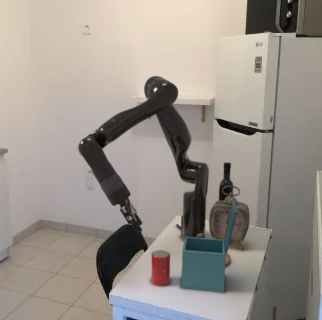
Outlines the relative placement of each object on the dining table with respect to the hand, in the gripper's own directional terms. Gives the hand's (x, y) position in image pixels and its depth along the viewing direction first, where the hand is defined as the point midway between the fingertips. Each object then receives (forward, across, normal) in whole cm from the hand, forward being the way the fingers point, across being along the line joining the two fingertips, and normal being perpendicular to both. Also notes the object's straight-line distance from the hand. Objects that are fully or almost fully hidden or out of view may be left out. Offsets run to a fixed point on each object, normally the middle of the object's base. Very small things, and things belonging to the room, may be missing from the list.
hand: (140, 228), depth 149 cm
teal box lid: (+13, -4, -26) cm, 29 cm away
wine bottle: (+30, +45, -24) cm, 59 cm away
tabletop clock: (+31, +29, -22) cm, 48 cm away
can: (+19, -1, +4) cm, 19 cm away
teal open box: (+27, 0, -9) cm, 28 cm away
